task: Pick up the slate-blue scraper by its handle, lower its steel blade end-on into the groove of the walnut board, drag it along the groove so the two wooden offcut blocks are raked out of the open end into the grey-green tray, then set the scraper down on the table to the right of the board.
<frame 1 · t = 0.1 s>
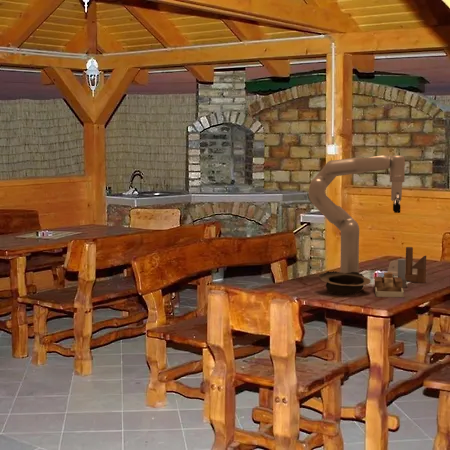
hand: (396, 212, 433), 37 cm above the table, tool pointing down, fingers open, 9 cm apart
birch block: (388, 286, 407), point 2 cm above the table, touching groove board
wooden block: (414, 282, 435), on the table
groove board: (388, 290, 411), on the table
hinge: (402, 276, 455), on the table
stone bowl: (345, 292, 406), on the table
oak block: (388, 284, 412), point 2 cm above the table, touching groove board
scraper: (401, 286, 421), on the table
tray: (389, 294, 399), on the table
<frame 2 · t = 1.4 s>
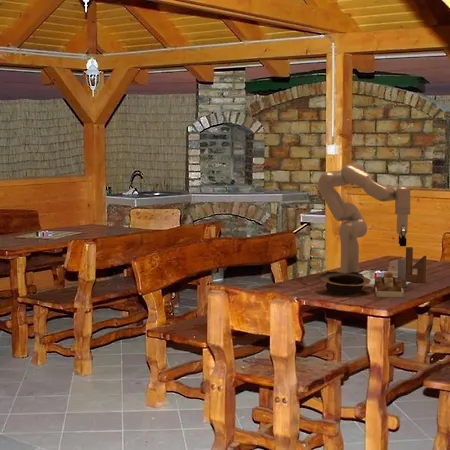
hand: (402, 245, 418), 21 cm above the table, tool pointing down, fingers open, 9 cm apart
nothing on the table moved.
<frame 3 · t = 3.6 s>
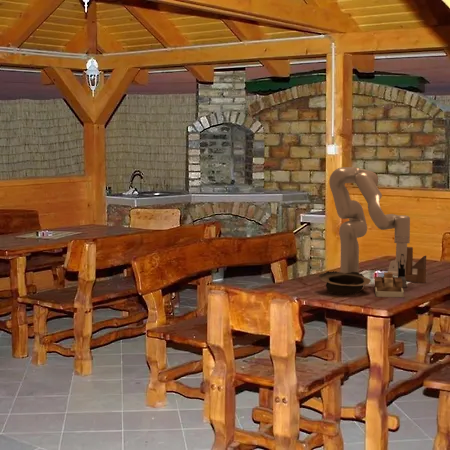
hand: (401, 275, 420), 6 cm above the table, tool pointing down, fingers closed on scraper, 3 cm apart
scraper: (401, 286, 421), on the table, touching gripper
everything else where it was.
when the fingers open (7 cm above the table, at t = 14.5 s): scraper drops 3 cm, on the table.
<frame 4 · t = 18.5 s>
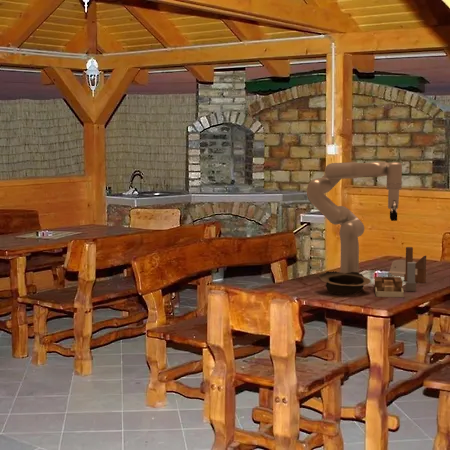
hand: (393, 219, 426), 33 cm above the table, tool pointing down, fingers open, 9 cm apart
birch block: (388, 289, 399), point 2 cm above the table, tilted 90°, touching tray
oak block: (388, 292, 401), resting on tray
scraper: (410, 290, 409), on the table
at the end: birch block inside the target area on the tray (1.0 cm from its centre), point 2.5 cm above the tray's base; oak block inside the target area on the tray (3.0 cm from its centre), point 0.5 cm above the tray's base; the gripper is holding nothing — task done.
